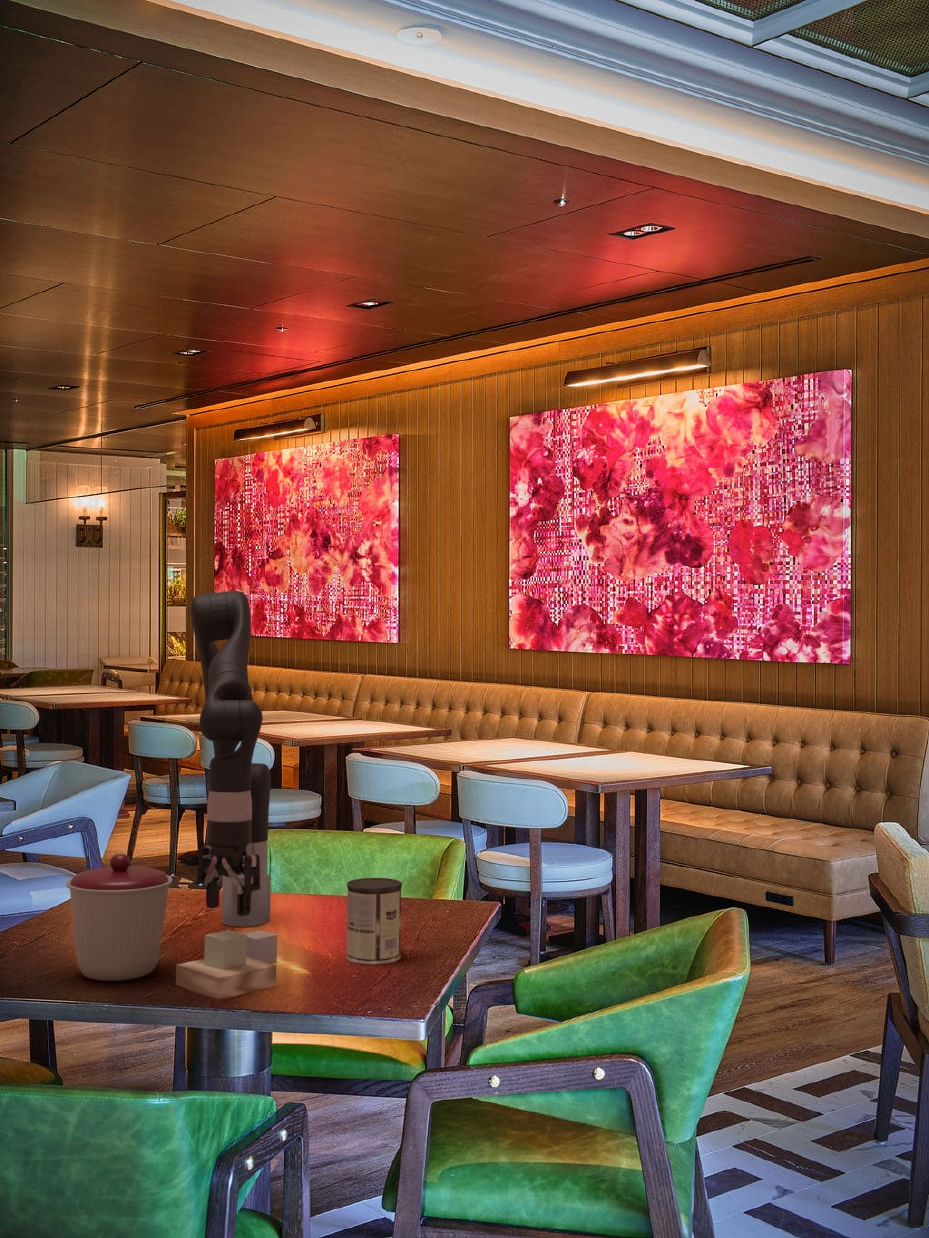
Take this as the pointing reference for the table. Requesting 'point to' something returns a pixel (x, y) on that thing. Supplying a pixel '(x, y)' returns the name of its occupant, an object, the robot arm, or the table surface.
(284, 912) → the table surface
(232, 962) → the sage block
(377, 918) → the coffee can
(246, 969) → the birch block
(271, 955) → the grey block
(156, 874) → the canister
